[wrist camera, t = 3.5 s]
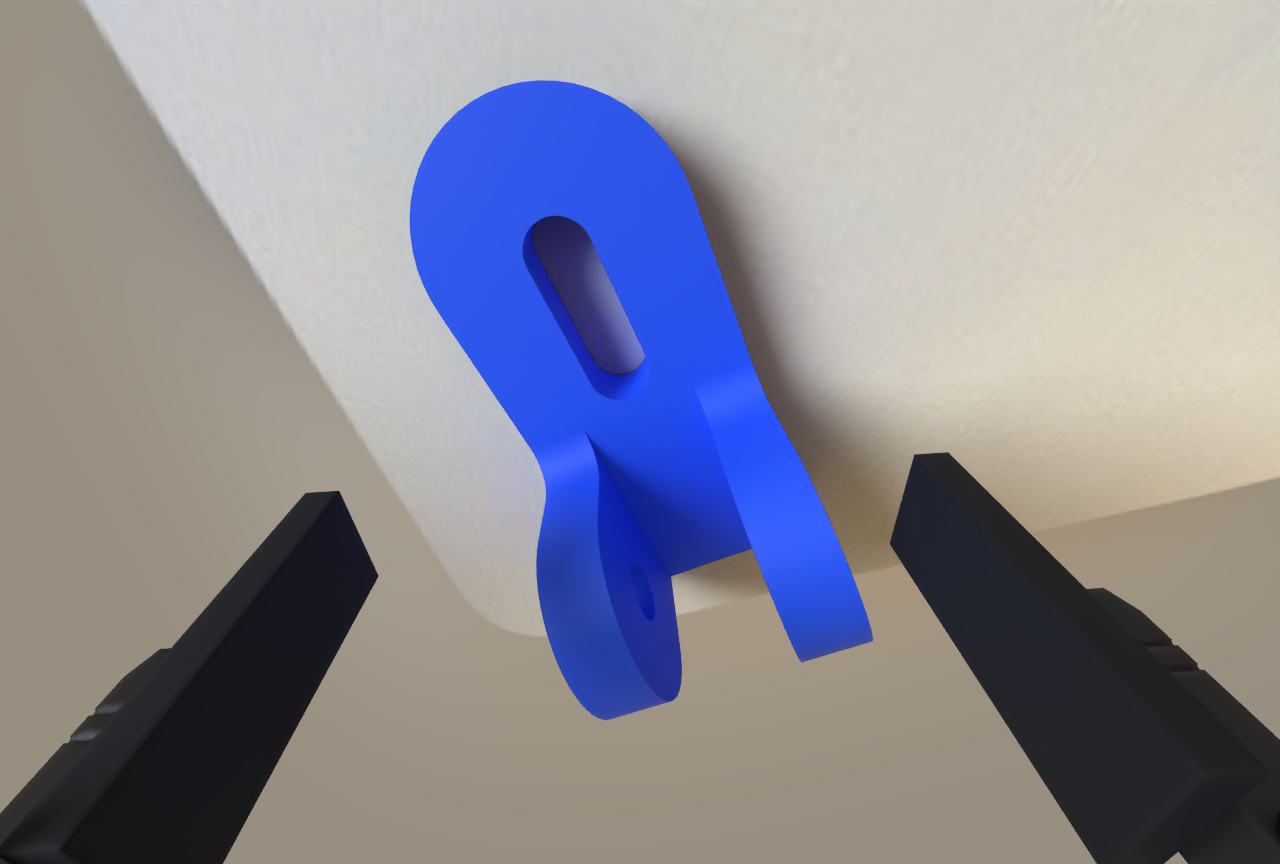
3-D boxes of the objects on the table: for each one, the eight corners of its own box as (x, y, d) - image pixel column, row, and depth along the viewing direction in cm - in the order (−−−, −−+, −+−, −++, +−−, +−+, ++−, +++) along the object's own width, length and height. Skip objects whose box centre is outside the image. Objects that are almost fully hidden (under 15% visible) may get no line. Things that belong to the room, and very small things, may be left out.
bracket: (794, 496, 22) (889, 688, 15) (626, 556, 24) (632, 760, 16) (626, 27, 14) (645, -105, 6) (375, 168, 15) (129, 209, 7)
